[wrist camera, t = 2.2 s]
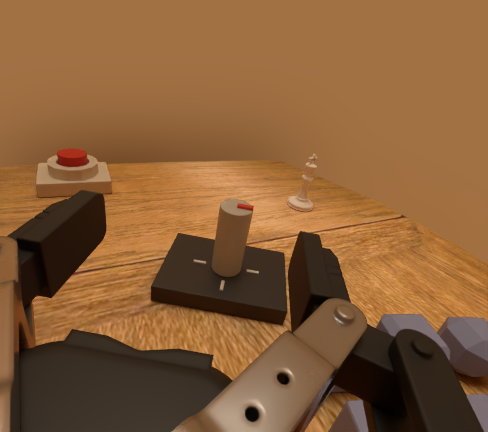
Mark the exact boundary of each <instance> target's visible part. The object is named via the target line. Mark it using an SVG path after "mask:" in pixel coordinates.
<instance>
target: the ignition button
mask: <svg viewBox="0 0 488 432" xmlns="http://www.w3.org/2000/svg"><path fill="white" fill-rule="evenodd" d="M57 156H58V163H59V165H61V166H65V167H80V166H84V165H87V164H88V163H87V153H86V152H85V151H83V150H80V149H64V150H60V151H58V152H57Z"/></svg>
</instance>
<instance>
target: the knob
mask: <svg viewBox="0 0 488 432" xmlns="http://www.w3.org/2000/svg"><path fill="white" fill-rule="evenodd" d="M252 213H253V206H251V205H250V204H249V203H247V202H245V201H242V200H237V199H228V200H224V201H223V202H221V204H220V210H219V217H218V224H217V231H216V238H215V245H214V251H213V258H212V269H213V271H214V272H215V273H217V274H218V275H220V276H224V277H232V276H235V275H237V274H238V273H239V272H240V270H241V266H242V261H243V256H244V252H245V247H246V242H247V237H248V232H249V228H250V223H251V218H252Z"/></svg>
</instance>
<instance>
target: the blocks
mask: <svg viewBox="0 0 488 432" xmlns="http://www.w3.org/2000/svg"><path fill="white" fill-rule="evenodd" d="M376 329H378V330H380V331H383V332H385V333H387V334H390V335H392V336H394V337H395V336H396V334H397V333H398V331H400V330H402V329H413V330H416V331H419V332H421V333H423V334H425V335H427V336H428V337H430V338H431V339H433V340H434V341H435V342H436V343H437V344H438V345H439V346H440V347H441V348H442V349H443V351H444V352H445V354H446V356H447V358H448V360H449V362H450V364H451V366H452V368H453V369H454V370H455V371H456V373H460V374H463V375H467V376H470V377H484V376H488V322H487V321H486V320H485V319H484V318H473V317H448V318H447V319H446V321H445V322H444V324H443V325H442V326H441V328H440V329H439V330H438V332H437V333H436V331H435V330H434V329H433V328H432V326H431V325H430V324H429V323H428V322H427V320H426V319H425V318H424V317H423V315H418V314H383V316H382V318H381V320H380V321H379V323H378V325H377V327H376ZM344 391H345V390H343V389H341V388H340V387H338V386H336V385H335V386H334V388H333V389H332V391H331V392H344ZM466 396H467V398H468V400H469V402H470V404H471V406H472V408H473V410H474V412H475V414H476V416H477V418H478V420H479V422H480V424H481V426H482V428H483V430H484V432H488V395H486V394H475V395H466ZM329 432H368V426H367V421H366V416H365V411H364V406H363V401H362V400H354V401H348V402H346V404H345V406H344V407H343V409H342V410H341V412H340V414H339V415H338V417H337V419H336V420H335V422H334V424H333V425H332V427H331V428H330V430H329Z"/></svg>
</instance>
